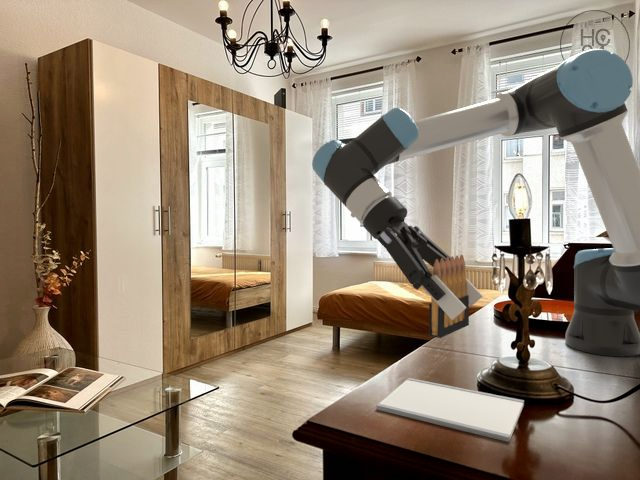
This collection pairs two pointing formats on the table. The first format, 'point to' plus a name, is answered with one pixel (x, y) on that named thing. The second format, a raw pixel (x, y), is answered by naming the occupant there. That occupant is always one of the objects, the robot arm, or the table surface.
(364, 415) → the table surface
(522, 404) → the white flat rectangular board
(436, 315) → the ammunition clip
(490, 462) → the table surface
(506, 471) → the table surface
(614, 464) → the table surface
